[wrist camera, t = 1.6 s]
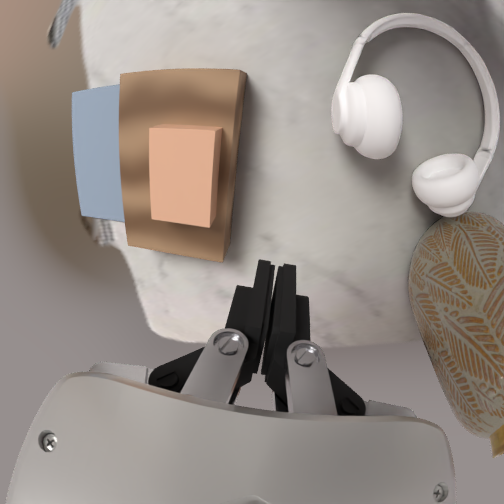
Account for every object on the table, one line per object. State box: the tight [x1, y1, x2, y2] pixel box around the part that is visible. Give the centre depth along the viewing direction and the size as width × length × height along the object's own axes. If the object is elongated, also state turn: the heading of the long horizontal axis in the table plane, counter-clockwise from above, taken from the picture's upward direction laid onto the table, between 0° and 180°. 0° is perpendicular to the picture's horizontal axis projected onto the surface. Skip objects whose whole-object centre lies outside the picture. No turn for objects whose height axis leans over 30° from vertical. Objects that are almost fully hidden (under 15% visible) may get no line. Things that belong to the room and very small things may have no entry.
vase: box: [408, 212, 504, 458], centre depth 19 cm, size 17×17×27 cm
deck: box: [119, 69, 247, 262], centre depth 27 cm, size 20×12×4 cm, turn 174°
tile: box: [149, 124, 222, 228], centre depth 24 cm, size 9×6×2 cm, turn 174°
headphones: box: [331, 13, 500, 217], centre depth 18 cm, size 20×8×20 cm
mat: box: [72, 85, 125, 222], centre depth 29 cm, size 18×10×1 cm, turn 174°
